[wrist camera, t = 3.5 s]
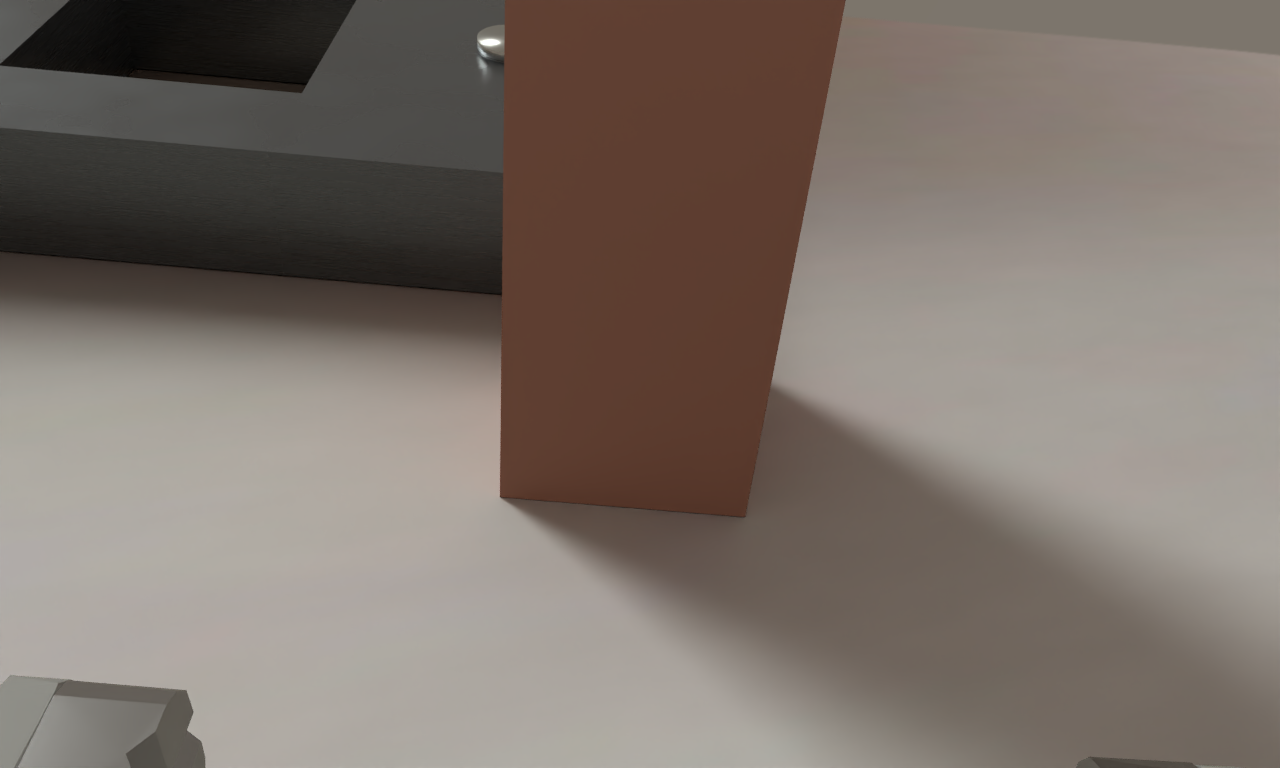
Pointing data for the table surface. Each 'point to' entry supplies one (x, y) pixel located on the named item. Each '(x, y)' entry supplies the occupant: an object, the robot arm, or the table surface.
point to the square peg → (651, 240)
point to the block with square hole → (259, 137)
